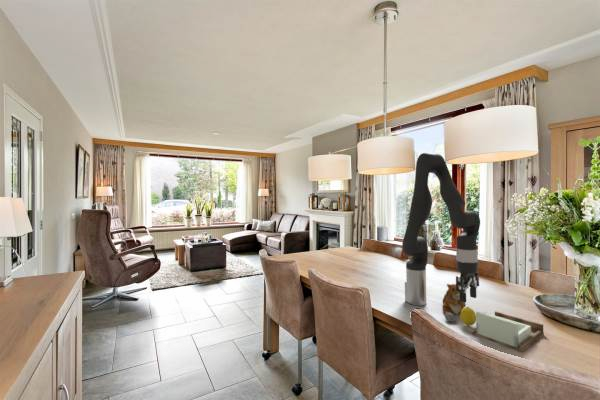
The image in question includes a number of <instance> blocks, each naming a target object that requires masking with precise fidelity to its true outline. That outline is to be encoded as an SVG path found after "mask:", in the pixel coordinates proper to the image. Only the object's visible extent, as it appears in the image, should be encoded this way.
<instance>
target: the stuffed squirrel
mask: <svg viewBox="0 0 600 400" xmlns="http://www.w3.org/2000/svg"><path fill="white" fill-rule="evenodd" d="M446 287H447V290H446V291H445V294H444V296H443V298H442V312H443V314H444V315H445V314H446V313H452V314H453V315H460V313H461V310H462V309H463V308H465V307H467V306H466V302H465V303H464V302H461V301H460V292H458V291H456V283H451V284H449V283H447V284H446Z"/></svg>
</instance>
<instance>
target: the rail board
mask: <svg viewBox="0 0 600 400" xmlns="http://www.w3.org/2000/svg"><path fill="white" fill-rule="evenodd" d="M494 315H495V316H498V317H502V318H505V319H508V320H512V321H515V322H519V323H522V324H526V325H529V326H531V337H529V338H528V339H527V340H525V341H524V342H523V343H522V344H520V345H519V347H518V348H517V347H514V346H511V345H508V344H505V343H503V342H500V341H497V340H494V339H491V338H488V337H486V336H483V335H480V334H477V333H476V327H474V328H473V329H472V331H471V333H472V334H471V335H474V336H476V337H480V338H483V339H485V340H487V341H491V342H494V343H496V344H499V345H502V346H504V347H508V348H510V349H512V350H516V351H518V352H521V353H523V352H525V351H526V350H527V349H528V348H530V347H531V346H532V345H533V344H534V343H535V342H537V341H538V340H539V339H540V338H541V337H542V336H544V335H545V334H544V324H543V323H539V322H535V321H532V320H528V319H524V318H521V317H518V316H513V315H510V314H506V313H503V312H499V311H494Z"/></svg>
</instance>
